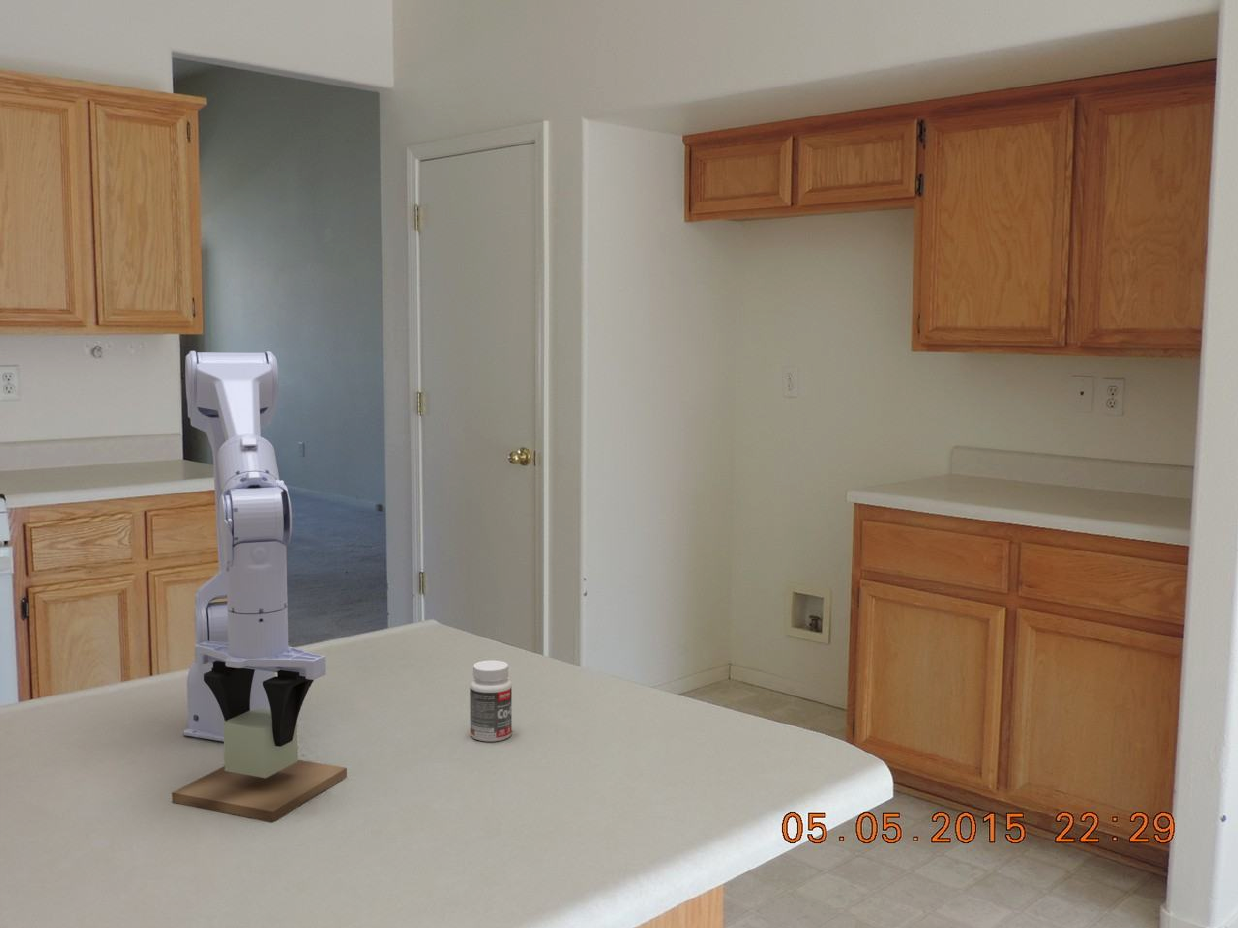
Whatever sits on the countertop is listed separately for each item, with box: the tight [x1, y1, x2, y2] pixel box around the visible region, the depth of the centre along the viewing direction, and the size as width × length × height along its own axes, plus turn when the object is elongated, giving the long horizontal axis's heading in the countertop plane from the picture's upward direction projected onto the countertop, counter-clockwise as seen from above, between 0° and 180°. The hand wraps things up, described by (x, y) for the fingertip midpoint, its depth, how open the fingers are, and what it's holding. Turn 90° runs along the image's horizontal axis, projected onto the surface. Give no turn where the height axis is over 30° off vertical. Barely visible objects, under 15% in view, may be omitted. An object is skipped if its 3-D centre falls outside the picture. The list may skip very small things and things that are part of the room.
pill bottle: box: [469, 660, 513, 743], centre depth 131 cm, size 5×5×8 cm
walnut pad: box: [171, 759, 348, 823], centre depth 115 cm, size 12×12×1 cm
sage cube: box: [223, 707, 299, 778], centre depth 114 cm, size 5×5×5 cm
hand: (261, 739), depth 114 cm, fingers closed on sage cube, 5 cm apart
